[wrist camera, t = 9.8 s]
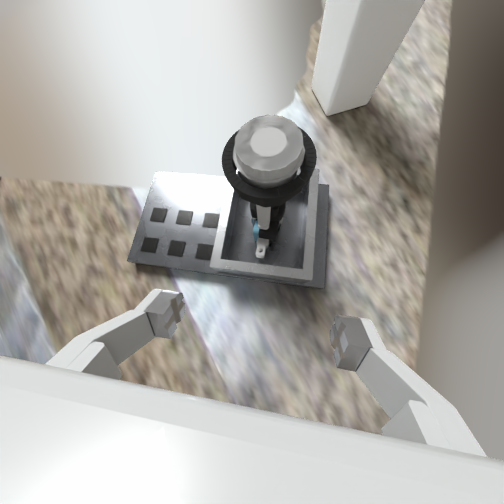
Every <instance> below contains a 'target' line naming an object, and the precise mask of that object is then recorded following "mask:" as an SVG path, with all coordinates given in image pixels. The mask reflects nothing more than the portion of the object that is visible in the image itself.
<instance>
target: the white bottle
mask: <svg viewBox="0 0 504 504" xmlns="http://www.w3.org/2000/svg"><path fill="white" fill-rule="evenodd" d="M424 1H425V0H326V5H325V11H324V16H323V22H322V28H321V34H320V40H319V45H318V51H317V57H316V63H315V69H314V74H313V80H312V86H311V88H312V90H313V92H314V94H315V96H316V98H317V99H318V101H319V103H320V105H321V107H322V109H323V111H324V113H325V114H326V115H327V116H330V115H333V114H336V113H340V112H343V111H346V110H350V109H353V108H357V107H360V106H363V105H366V104H367V103H368V102H369V100H370V98H371V96H372V95H373V93H374V91H375V89H376V87H377V86H378V84H379V82H380V80H381V78H382V77H383V75H384V73H385V71H386V69H387V68H388V66H389V64H390V62H391V61H392V59H393V57H394V55H395V53H396V52H397V50H398V48H399V46H400V44H401V43H402V41H403V39H404V37H405V35H406V34H407V32H408V30H409V28H410V26H411V25H412V23H413V21H414V19H415V17H416V16H417V14H418V12H419V10H420V8H421V7H422V5H423V3H424Z"/></svg>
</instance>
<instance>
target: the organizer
mask: <svg viewBox="0 0 504 504" xmlns="http://www.w3.org/2000/svg"><path fill="white" fill-rule="evenodd" d="M300 172H301V170H300V168H298V170H297V175H296V177H297V176H298V175H299V174H300ZM236 174H237V175H238V176H239V178H240V179H241V176H240V171H239V170H238V169H237V172H236ZM318 181H319V169H314V171H313V174H312V176H311V178H310V180H309V181H308V183H307V184H306V185H305V186H304V187H303V189H302V191H301V192H300V193H298V194H297V195H295V196H294V197H293V198H291V199H290V200H288V201H287V202H286V208H285V212H284V216H283V221H282V226H281V224H280V223H279V225H278V230H277V236H276V240H275V241H272V242H271V244H269V245H268V248H266V251H265V256H264V258H263V259H262V258H257V257H256V249H257V244H256V242H257V241H254V236H253V228H254V225H255V221H256V219H254V221H253V224H252V221H251V211H250V202H248V201H246V200H243V199H241V198H240V197H239V195H238V194H237V193H236V191H235V190H234V189H233V187H232V186H231V185H230V184H229V182H228V181H227V179H226V177H221V176H207V175H195V174H182V173H169V172H155V175H154V178H153V182H152V185H151V188H150V191H149V194H148V197H147V200H146V203H145V206H144V209H143V213H142V216H141V219H140V222H139V225H138V228H137V231H136V234H135V237H134V240H133V244H132V247H131V250H130V253H129V256H128V259H127V261H128V262H132V263H136V264H143V265H150V266H158V267H165V268H172V269H179V270H187V271H194V272H201V273H208V274H216V275H223V276H230V277H237V278H245V279H252V280H259V281H266V282H274V283H281V284H288V285H295V286H303V287H310V288H317V289H323V288H325V266H326V244H327V222H328V199H329V185H325V184H318ZM280 227H281V229H280ZM261 252H262V251H260V253H261Z"/></svg>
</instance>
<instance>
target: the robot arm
mask: <svg viewBox="0 0 504 504" xmlns="http://www.w3.org/2000/svg"><path fill="white" fill-rule="evenodd" d="M183 298H184V297H183V293H180V292H175V291H169V290H162V289H153V290H152V291H151V292H150V293H149V294H148V295H147V296H146V298H145V299H144V300H143V301H142V302H141V303H140V304H139V305H138V306H137V307H136V308H135V309H134V310H130V311H128V312H126V313H124V314H121V315H119V316H117V317H115V318H113V319H111V320H109V321H107V322H105V323H103V324H101V325H99V326H97V327H95V328H92V329H90V330H88V331H86V332H84V333H82V334H80V335H78V336H76V337H75V338H74V339H72V340H71V341H70V342H69V343H68V344H67V345H66V346H65V347H64V348H62V349H61V350H60V351H59V352H58V353H57V354H56V355H55V356H54V357H53V358H51V359H50V360H49V361H48V362H47V363H46V364H40V363H36V362H31V361H26V360H21V359H16V358H12V357H7V356H2V355H0V504H504V461H503V460H498V459H494V458H489V457H487V456H486V454H485V453H484V451H483V450H482V448H481V447H480V445H479V444H478V442H477V441H476V439H475V438H474V436H473V434H472V433H471V431H470V430H469V428H468V427H467V425H466V424H465V422H464V421H463V419H462V418H461V416H460V414H459V413H458V411H457V410H456V408H455V407H454V406H453V405H452V404H450V403H449V402H448V401H447V400H446V399H445V398H444V397H442V396H441V395H440V394H439V393H438V392H437V391H435V390H434V389H433V388H432V387H431V386H430V385H429V384H427V383H426V382H425V381H424V380H423V379H422V378H421V377H419V376H418V375H417V374H416V373H415V372H414V371H413V370H411V369H410V368H409V367H408V366H407V365H406V364H405V363H403V362H402V361H401V360H400V359H399V358H398V357H397V356H395V355H394V354H393V353H392V352H391V351H387V349H386V348H385V346H384V344H383V342H382V340H381V338H380V336H379V334H378V332H377V330H376V328H375V326H374V324H373V322H372V321H371V320H370V319H366V318H358V317H351V316H343V315H336V316H335V319H334V321H335V324H334V325H332V327H331V330H330V341H331V345H332V346H333V348H334V349H335V351H334V358H335V363H336V367H337V368H340V369H345V370H350V371H355V372H356V374H357V375H358V376H359V378H360V379H361V380H362V382H363V383H364V384H365V386H366V387H367V388H368V390H369V391H370V392H371V394H372V395H373V396H374V398H375V399H376V400H377V401H378V403H379V404H380V405H381V407H382V408H383V409H384V411H385V412H386V413H387V415H388V416H389V417H390V420H389V421H388V422H387V423H386V424H385V425H384V426H383V427H382V429H381V430H382V433H383V435H379V434H374V433H370V432H365V431H360V430H355V429H351V428H346V427H341V426H336V425H332V424H327V423H322V422H317V421H313V420H308V419H303V418H298V417H293V416H289V415H284V414H279V413H274V412H270V411H265V410H260V409H255V408H251V407H246V406H241V405H236V404H232V403H227V402H222V401H217V400H212V399H208V398H203V397H198V396H193V395H189V394H184V393H179V392H174V391H169V390H165V389H160V388H155V387H150V386H146V385H141V384H136V383H131V382H126V381H122V380H120V378H121V377H122V372H121V370H120V369H119V367H118V365H119V364H120V363H122V362H123V361H124V360H126V359H127V358H128V357H130V356H131V355H132V354H134V353H135V352H136V351H138V350H139V349H140V348H142V347H143V346H144V345H146V344H147V343H148V342H150V341H151V340H152V339H154V338H155V337H162V338H169V339H170V338H171V337H172V335H173V333H174V332H175V330H176V328H177V325H176V324H177V323H178V322H180V321H181V320H182V318H183V317H184V313H185V303H184V302H183V301H182V300H183Z"/></svg>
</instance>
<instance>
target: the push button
mask: <svg viewBox="0 0 504 504" xmlns="http://www.w3.org/2000/svg"><path fill="white" fill-rule="evenodd" d="M316 158H317V157H316V149H315V146H314V144H313V142H312V140H311V138H310V137H309V136H308V134H307V133H306V132H304V131H303V130H302V129H301V128H299V127H298V126H297V125H296V124H295V123H294V122H292V121H291V120H289V119H287V118H285V117H283V116H277V115H265V116H259V117H256V118H253V119H252V120H250V121H249V122H247V123H246V124H244V125H243V126H242V127H241V129H240V130H238V131H237V132H236V133H235V134H234V135H233V136H232V137H231V138H230V139H229V141H228V142H227V144H226V146H225V148H224V151H223V155H222V167H223V171H224V174H225V176H226V179H227V181H228V182H229V184H230V185H231V186H232V187H233V189H234V190H235V191H236V193H237V194H238V195H239V197H240V198H241V199H243V200H246V201H248V202H250V211H251V221H252V224H253V221H254V219H256V221H255V225H254V228H253V236H254V241H257V242H256V244H257V249H256V257H257V258H262V259H263V258H264V256H265V251H266V248H268V245H269V244H271V242H272V241H275V240H276V236H277V230H278V225H279V223H280V224H281V226H282V221H283V216H284V212H285V208H286V202H287V201H288V200H290V199H291V198H293V197H294V196H295V195H297V194H298V193H300V192H301V191H302V189H303V187H304V186H305V185H306V184H307V183H308V181H309V180H310V178H311V176H312V174H313V171H314V168H315V165H316ZM299 167H300V170H301V172H300V174H299V175H298V176H297V177H296V175H297V170H298V168H299ZM237 169H238V170H239V171H240V176H241V179H240V178H239V176H238V175H237V174H236V172H237ZM280 229H281V227H280ZM260 251H262V252H261V253H260Z"/></svg>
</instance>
